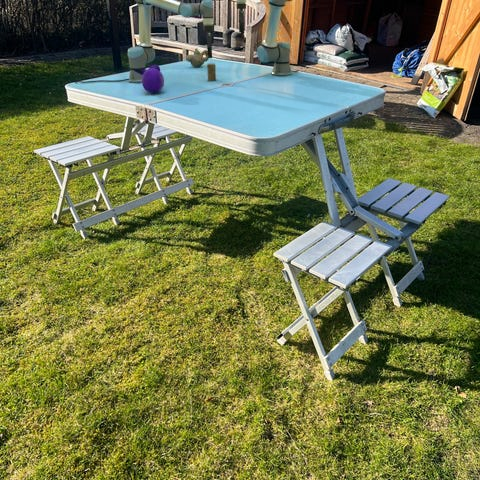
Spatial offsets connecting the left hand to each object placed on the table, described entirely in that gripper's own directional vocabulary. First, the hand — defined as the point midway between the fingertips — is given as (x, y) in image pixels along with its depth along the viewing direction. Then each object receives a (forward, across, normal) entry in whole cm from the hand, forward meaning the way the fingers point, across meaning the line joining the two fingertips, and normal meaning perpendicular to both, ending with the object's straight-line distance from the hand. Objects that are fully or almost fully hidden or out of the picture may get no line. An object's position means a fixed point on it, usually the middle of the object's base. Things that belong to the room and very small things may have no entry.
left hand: (209, 56), depth 329 cm
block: (+17, +1, +1) cm, 17 cm away
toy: (+17, +30, -42) cm, 55 cm away
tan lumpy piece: (+17, -60, -8) cm, 63 cm away
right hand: (-11, -39, +28) cm, 50 cm away
